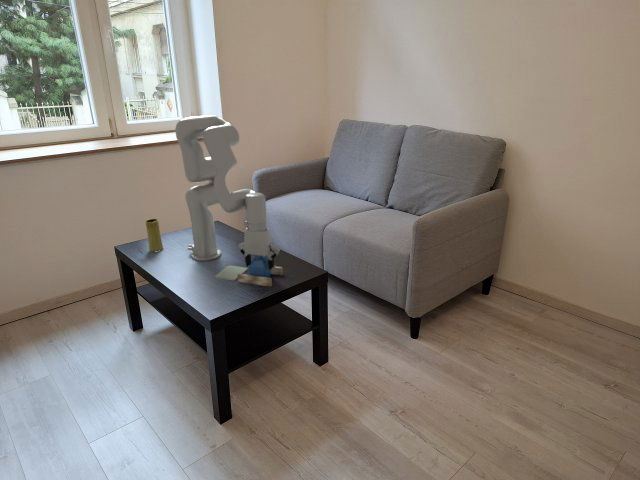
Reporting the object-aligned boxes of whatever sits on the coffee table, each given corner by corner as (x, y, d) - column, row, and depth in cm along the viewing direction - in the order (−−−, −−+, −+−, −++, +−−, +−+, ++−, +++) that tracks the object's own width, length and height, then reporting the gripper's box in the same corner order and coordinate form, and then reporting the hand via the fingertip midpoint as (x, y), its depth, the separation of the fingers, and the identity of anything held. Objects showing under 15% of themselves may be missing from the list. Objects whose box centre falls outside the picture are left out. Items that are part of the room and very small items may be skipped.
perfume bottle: (265, 282, 171) (263, 253, 167) (250, 280, 173) (248, 252, 168) (270, 275, 177) (268, 247, 173) (255, 273, 178) (253, 246, 174)
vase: (166, 248, 204) (161, 219, 199) (155, 253, 199) (150, 223, 194) (157, 246, 207) (152, 217, 202) (146, 250, 203) (141, 221, 197)
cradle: (237, 281, 172) (237, 273, 171) (251, 269, 182) (250, 261, 181) (270, 286, 168) (270, 278, 166) (282, 274, 178) (282, 265, 176)
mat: (214, 277, 175) (214, 276, 175) (228, 266, 185) (228, 265, 185) (234, 280, 173) (234, 279, 172) (247, 269, 182) (247, 268, 182)
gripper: (231, 226, 166) (235, 267, 172) (273, 231, 161) (276, 273, 167) (241, 220, 173) (244, 260, 179) (282, 224, 167) (284, 265, 174)
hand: (259, 266), depth 173 cm, fingers open, 9 cm apart
